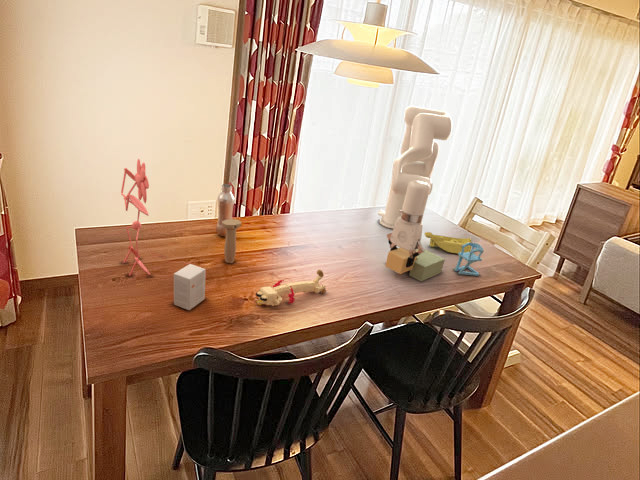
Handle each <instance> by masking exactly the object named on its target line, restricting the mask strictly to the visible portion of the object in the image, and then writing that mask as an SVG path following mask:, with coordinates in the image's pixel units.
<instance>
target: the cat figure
mask: <svg viewBox="0 0 640 480" xmlns="http://www.w3.org/2000/svg"><path fill="white" fill-rule="evenodd" d="M316 275H318V276H316V277H315V279H313V280H307V281H306V280H303V281H295V282H288V283H285V284H281V283H282V282H284V279H279V280H278V281H276V282H275V283H274V284H273V285H272V287H271V286H269V285H268V286H261V287H260V288H259V291H256V293H255V296H256V297H257V298H254V301H256V304H257V305H258V306H261V305H265V306H272V307H275V306H279V305H280V303H282V301H283V297H285V296H287V297H288V298H289V299H288V302H287V304H290V305H291V304H294V302H296V301H295V300H296V299H295V294H297V293H308V292H309V293H313V292H314V293H316V294H318V293H321V294H325V293H326V292H327V289H326V287H327V286H326V284H321V285H320V284H319V283H320V281H321V280H322V279H323V278H324V276H325V274H324V272H323V270H321V269H318V270H317V271H316Z"/></svg>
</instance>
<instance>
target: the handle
mask: <svg viewBox="0 0 640 480" xmlns="http://www.w3.org/2000/svg"><path fill="white" fill-rule="evenodd" d="M222 226H223V227H224V228H226V236H225V239H224V240H225V241H224V250H223V251H224V253H223V254H224V262H225V263H226V264H233V263H234V262H235V258H236V255H237V254H236V253H237V229H239V228H240V227H241V226H242V222H241V220H239V219H236V218H235V219H234V218H232V219H228V220H224V221H222Z"/></svg>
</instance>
